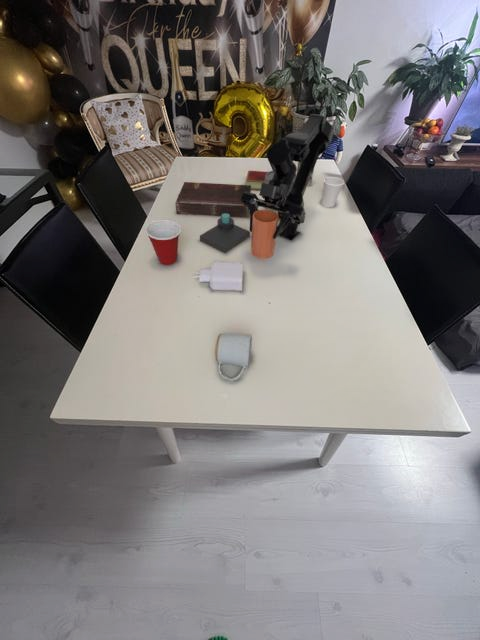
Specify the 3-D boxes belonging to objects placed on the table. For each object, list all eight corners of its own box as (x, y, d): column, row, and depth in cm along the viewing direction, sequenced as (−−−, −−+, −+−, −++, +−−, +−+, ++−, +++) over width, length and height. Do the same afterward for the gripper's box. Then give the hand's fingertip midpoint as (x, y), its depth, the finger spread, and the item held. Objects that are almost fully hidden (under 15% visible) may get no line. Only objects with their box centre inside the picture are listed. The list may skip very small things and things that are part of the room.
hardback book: (176, 214, 120) (175, 202, 117) (185, 193, 133) (184, 181, 129) (248, 218, 119) (248, 206, 116) (250, 196, 132) (251, 185, 128)
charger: (195, 271, 96) (242, 272, 96) (192, 290, 90) (242, 292, 90) (194, 259, 92) (242, 260, 92) (190, 278, 86) (242, 280, 86)
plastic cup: (178, 272, 95) (173, 239, 86) (147, 267, 97) (138, 234, 88) (189, 253, 103) (185, 221, 94) (159, 248, 104) (153, 216, 95)
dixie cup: (339, 208, 127) (346, 185, 119) (319, 208, 127) (325, 184, 119) (335, 199, 132) (341, 176, 125) (316, 199, 132) (321, 175, 125)
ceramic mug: (219, 344, 76) (218, 324, 70) (251, 347, 76) (253, 328, 70) (212, 380, 69) (210, 362, 63) (247, 384, 69) (248, 366, 63)
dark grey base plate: (225, 224, 116) (224, 215, 113) (250, 236, 111) (251, 226, 108) (199, 240, 108) (198, 230, 105) (225, 253, 103) (225, 243, 100)
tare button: (225, 218, 112) (225, 212, 110) (231, 221, 110) (231, 215, 108) (220, 222, 110) (219, 215, 108) (226, 224, 109) (226, 218, 107)
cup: (268, 243, 95) (272, 208, 86) (277, 256, 91) (282, 220, 82) (247, 247, 94) (249, 211, 85) (255, 260, 89) (258, 224, 80)
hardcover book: (247, 178, 145) (248, 169, 142) (290, 181, 144) (292, 172, 141) (245, 189, 137) (245, 179, 134) (291, 192, 136) (292, 183, 133)
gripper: (243, 161, 80) (224, 217, 82) (309, 176, 74) (287, 236, 76) (255, 180, 91) (237, 229, 92) (313, 194, 85) (293, 247, 87)
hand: (262, 235), depth 87 cm, fingers closed on cup, 7 cm apart
